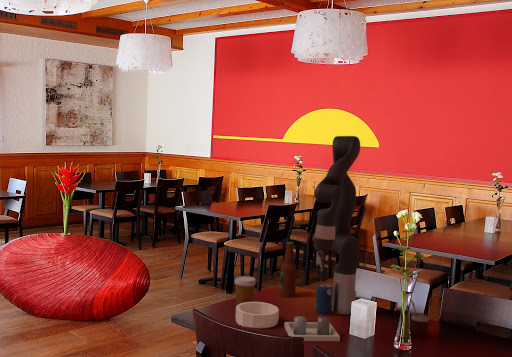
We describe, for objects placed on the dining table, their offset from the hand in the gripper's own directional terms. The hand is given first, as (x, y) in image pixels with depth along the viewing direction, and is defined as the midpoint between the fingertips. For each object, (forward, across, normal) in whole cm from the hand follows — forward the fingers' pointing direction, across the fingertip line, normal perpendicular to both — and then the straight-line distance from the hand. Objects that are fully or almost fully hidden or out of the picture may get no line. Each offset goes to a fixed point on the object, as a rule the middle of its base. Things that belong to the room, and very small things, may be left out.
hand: (321, 278), depth 220 cm
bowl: (+21, +8, +22) cm, 32 cm away
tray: (+21, -5, +3) cm, 21 cm away
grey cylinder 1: (+20, -5, +7) cm, 22 cm away
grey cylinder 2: (+20, -4, -2) cm, 21 cm away
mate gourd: (+20, -3, -39) cm, 44 cm away
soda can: (+20, +22, -7) cm, 31 cm away
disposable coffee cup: (+21, +28, +26) cm, 44 cm away
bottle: (+20, +46, +5) cm, 51 cm away
